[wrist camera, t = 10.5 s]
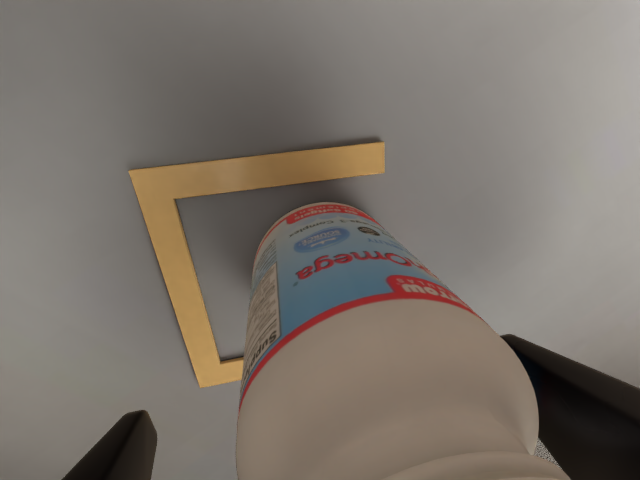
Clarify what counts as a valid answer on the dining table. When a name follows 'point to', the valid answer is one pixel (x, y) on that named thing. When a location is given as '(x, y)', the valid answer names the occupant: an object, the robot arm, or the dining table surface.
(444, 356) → the pill bottle
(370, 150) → the tape outline
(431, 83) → the dining table surface
